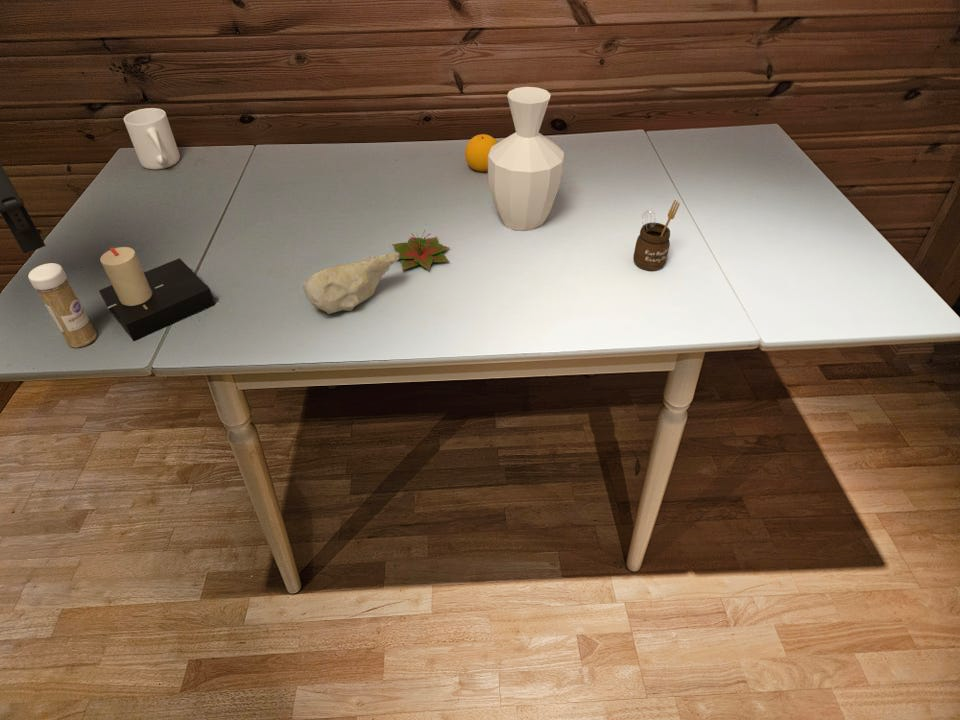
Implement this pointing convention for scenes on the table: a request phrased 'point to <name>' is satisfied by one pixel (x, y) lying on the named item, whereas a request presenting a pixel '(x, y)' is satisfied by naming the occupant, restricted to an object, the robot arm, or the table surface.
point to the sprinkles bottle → (63, 304)
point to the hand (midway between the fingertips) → (19, 228)
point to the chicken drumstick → (347, 283)
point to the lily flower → (420, 252)
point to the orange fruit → (479, 151)
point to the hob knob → (126, 276)
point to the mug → (152, 138)
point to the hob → (161, 300)
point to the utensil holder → (653, 243)
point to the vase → (525, 164)
